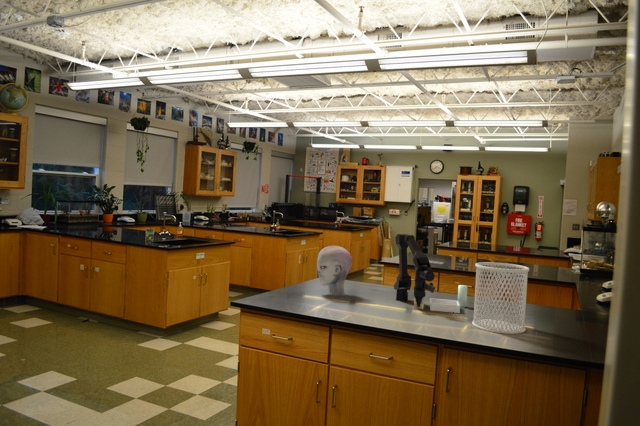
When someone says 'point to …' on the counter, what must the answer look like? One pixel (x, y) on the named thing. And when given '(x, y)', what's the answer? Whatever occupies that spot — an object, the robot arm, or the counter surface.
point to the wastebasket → (496, 323)
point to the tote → (444, 305)
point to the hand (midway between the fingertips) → (418, 305)
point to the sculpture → (334, 268)
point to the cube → (420, 304)
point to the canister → (462, 295)
